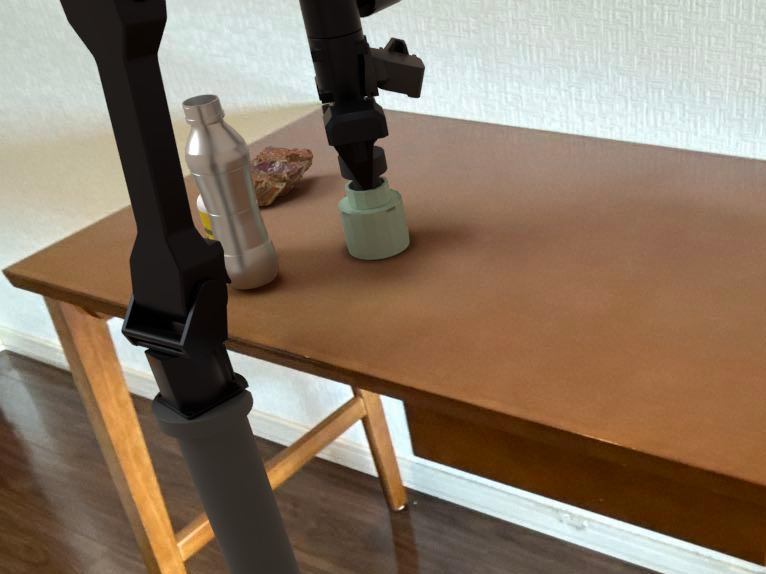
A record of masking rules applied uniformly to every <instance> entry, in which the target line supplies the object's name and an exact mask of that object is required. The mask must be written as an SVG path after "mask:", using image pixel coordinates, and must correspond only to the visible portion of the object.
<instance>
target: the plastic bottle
mask: <svg viewBox="0 0 766 574" xmlns="http://www.w3.org/2000/svg"><path fill="white" fill-rule="evenodd" d="M181 107H182V110H183V113H184V116H185V117H184V120H185V123H186V124H188V125H190V129H189V133H188V135H187V137H186V142H185V146H184V162H185V164H186V167H187V170H189V173H190V175H191V178H192V179H193V182H194V184H195V186H196V188H197V190H198V192H199V195H201V198H202V200H203V203H204V206H205V208H206V209H207V214H208V217H209V220H210V224H211V229H212V233H213V238H214V240H218V241H220V242H221V244H222V247H223V249H224V257H225V267H226V270H227V273H228V276H229V277H230V279H231V281H232V283H231V284H228V285H229V286H230V287H231V288H233V289H237V290H250V289H251V290H252V289H256V288H259V287H263V286H266V285H267V284H270V283H271V282H272V281H274V280H275V279H276V278H277V275H278V273H279V270H280V261H279V254H278V251H277V249H276V246H275V244H274V242H273V240H272V238H271V237H270V236H269V232H268V229H267V226H266V223H265V221H264V218H263V215H262V212H261V210H260V208H259V207H260V206H258V202H257V199H256V193H255V188H254V184H253V177H252V169H251V153H250V149H249V145H248V143H247V142H246V140H245V138H244V137H243V136H242V135H241V134H240V133H239V132H238V131H237V130H236V129H235V127H233V126H231V125H230V124H229V123H227V121H225V117H226V112H225V109H223V106H222V103H221V99H220V98H219V96H218V95H217V94H214V93H213V94H210V93H208V94H200V95H199V94H198V95H195V96H192V97H188V98H186V99H185V100H183V101H182V102H181Z"/></svg>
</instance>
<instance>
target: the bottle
mask: <svg viewBox="0 0 766 574" xmlns="http://www.w3.org/2000/svg"><path fill="white" fill-rule="evenodd" d="M379 178H380V183H381V186H379V187H377V188H375V189H371V190H367V191H355V189H354V184H353V181H352V180H348V182H347V183H346V184H345V185H344V189H345V194H346V196H344V197H343V198H342V199H341V200H340V201H339V202H338V206H337V208H338V212H339V216H340V217H339V218H340V221H341V225H342V230H343V234H344V237H345V238H344V239H345V242H346V247H347V249H348V252H349V254H350V255H351V256H352V257H354V258H356V259H360V260H365V261H374V260H383V259H387V258H391V257H393V256H396V255H398V254H400V253H402V252H404V251H405V250H406V249H407V248H408V247H409V246H410V243H411V241H410V240H411V239H410V233H409V227H408V222H407V217H406V210H405V206H404V201H403V196H402V194H401V193H400V192H399V190H396V189H393V188H390V184H389V181H388V179H387V177H385V176H383V175H380V176H379Z"/></svg>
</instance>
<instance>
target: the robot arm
mask: <svg viewBox="0 0 766 574" xmlns="http://www.w3.org/2000/svg"><path fill="white" fill-rule="evenodd" d="M401 1H402V0H298V2H299V3H298V4H299V7H300V12H301V16H302V20H303V25H304V30H305V34H306V39H307V43H308V47H309V52H310V57H311V63H312V65H313V69H314V75H315V76H314V83H315V86H316V92H317V95H318V96H317V97H318V100H319V102H321V104H322V105H321V110H322V114H323V115H322V122H323V126H324V131H325V135H326V140H327V145H328V146H329V147H333V148H334V150H335V151H336V152H337V154H338V155H340V157H341V158H342V160H343V161H344V163H345V164H346V166H347V167H348V168H349V170H350V171H351V173H352V174H353V176H354V177H355V179H356V180H357V182H358V183H359V185H360V186H361V188H362V189H363V190H370V189H372V188H373V146H374V145H375V144H376V142H377V141H378V140H380V139H385V138H387V137H388V136H389V135H390V133H389V128H388V127H389V126H388V122H387V117H386V114H385V111H384V109H383V108H384V107H383V106H382V105H381V104H379V103H377V100H376V97H379V96H380V91H379V89H380V90H382V91H387V92H390V93H396V94H402V95H406V97H408V98H412V99H420V98H421V94H422V89H423V82H424V77H425V71H426V65H425V63H424V61H423V60H422V58H421V57H419V56H417V54H415V53H412V54H410V53H409V49H408V46H407V43H406V41H405V40H404V39H401V38H397V37H390V39H389V40H388V42H387V43H386V45H385V46H384V47H382V46H379V47H378V48H376V47H371V45H370V43H369V42H368V39H367V35H366V34H364V29H363V25H362V20H361V18H362V19H363V18H368V17H371V16H374V15H375V14H377V13H379V12H382V11H383V10H386V9H388V8H391V6H394V5H396V4H398V3H400V2H401ZM59 3H60V5H61V7H62V10H63V13H64V15H65V18H66V20H67V23H68V24H69V26H70V27H71V28H72V29H73V31H74V32H75V34H76V35H77V36H78V38H79V39H80V40H81V43H82V44H84V46H85V47H86V49H87V50H88V51H89V52H90V54H91V55H92V57H93V59H94V61H95V64H96V67H97V72H98V76H99V79H100V84H101V87H102V92H103V96H104V100H105V104H106V108H107V113H108V116H109V120H110V124H111V129H112V132H113V136H114V140H115V144H116V149H117V152H118V157H119V160H120V164H121V168H122V173H123V178H124V181H125V185H126V188H127V193H128V197H129V201H130V205H131V208H132V214H133V217H134V221H135V222H134V223H135V226H136V236H135V239H134V243H133V245H132V249H131V253H130V255H129V261H128V263H129V270H130V281H131V290H132V291H131V295H130V298H129V302H128V304H127V305H128V306H127V308H126V312H125V314H124V315H125V316H124V319H123V322H122V326H121V329H120V332H121V335H122V336H123V337H124V338H125V339H126V340H127V341H128V342H129V343H130V345H131V346H134V347H141V348H145V350H144V351H143V353H144V355H145V358H146V360H147V362H148V363H147V364H148V365H149V368H150V370H151V372H152V376H153V378H154V381H155V382H156V385H157V387H158V390H159V391H160V393H159V394H158V393H157V394H158V395H157V394H155V396H156V400H157V401H158V402H159V403H161V404H162V405H164V406H166V407H167V408H169V409H170V410H172V411H174V412H175V413H177V414H178V415H180V416H182V417H183V418H185V419H187V420H193V419H195V418H197V417H199V416H200V415H202V414H204V413H206V412H208V411H210V410H211V409H213V408H215V407H217V406H219V405H221V404H222V403H224V402H226V401H228V400H230V399H231V398H233V397H235V396H237V395H239V394H241V393H242V392H243V388H242V386H241V385H239V384H237V383H235V382H233V381H234V380H235V379H236V376H235V373H234V372H235V370H234V367H233V364H232V361H231V358H230V355H229V352H228V349H227V346H226V344H225V343H224V342H226V341H227V340H229V326H228V325H229V323H228V303H229V288H228V285H229V284H231V283H232V281H231V279H230V277H229V276H228V273H227V270H226V267H225V257H224V249H223V247H222V244H221V242H220V241H218V240H212V239H208V238H207V237H203V235H202V234H201V232H199V230H198V229H197V227H196V225H195V222H194V219H193V215H192V209H191V205H190V201H189V196H188V192H187V191H188V190H187V186H186V182H185V178H184V177H185V176H184V172H183V168H182V164H181V159H180V154H179V150H178V144H177V140H176V135H175V130H174V126H173V122H172V117H171V113H170V107H169V103H168V98H167V94H166V90H165V85H164V84H165V83H164V80H163V75H162V72H161V66H160V62H159V61H160V60H159V50H160V46H161V43H162V40H163V36H164V32H165V29H166V25H167V21H168V9H167V0H59Z"/></svg>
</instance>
